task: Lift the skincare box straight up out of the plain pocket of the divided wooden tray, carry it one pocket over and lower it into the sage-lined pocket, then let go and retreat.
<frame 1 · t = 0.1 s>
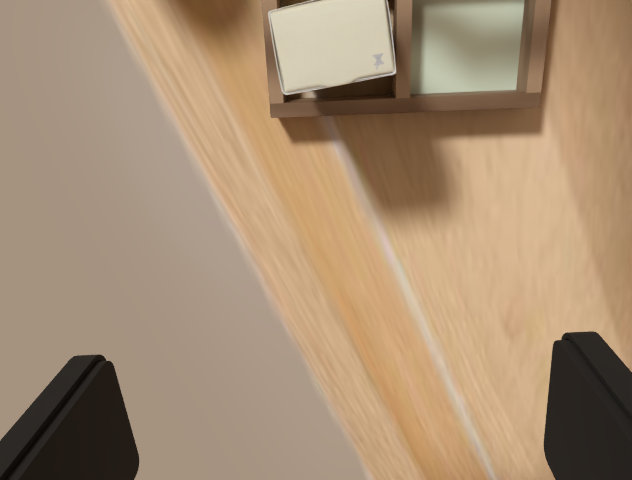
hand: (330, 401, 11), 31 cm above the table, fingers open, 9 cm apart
divided wooden tray: (400, 37, 37), on the table
skincare box: (338, 40, 37), resting in divided wooden tray
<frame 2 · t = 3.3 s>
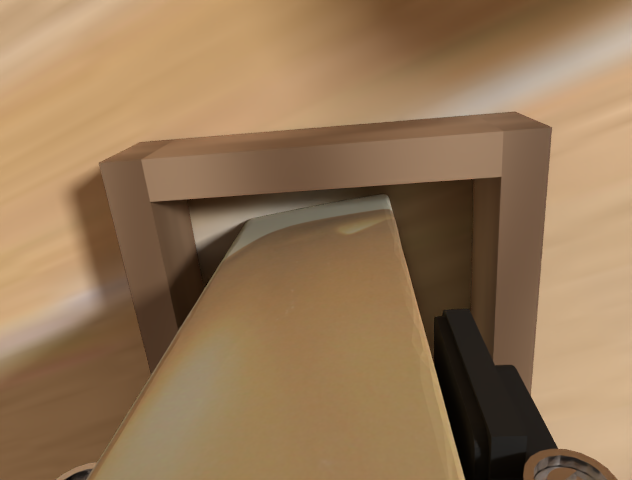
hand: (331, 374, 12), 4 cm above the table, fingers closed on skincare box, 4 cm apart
divided wooden tray: (345, 414, 17), on the table
skincare box: (335, 291, 15), resting in divided wooden tray, touching gripper
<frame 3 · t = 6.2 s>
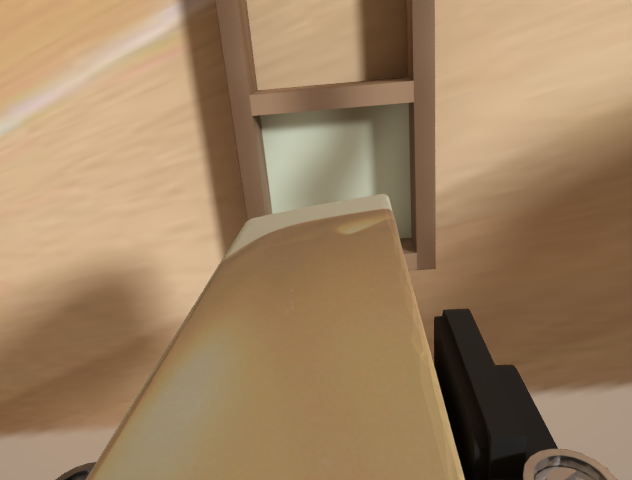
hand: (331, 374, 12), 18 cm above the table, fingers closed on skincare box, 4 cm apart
divided wooden tray: (332, 93, 27), on the table
skincare box: (335, 291, 15), point 14 cm above the table, touching gripper
when the fingers open (5 cm above the table, at t = 9.2 s): skincare box drops 1 cm, resting on divided wooden tray.
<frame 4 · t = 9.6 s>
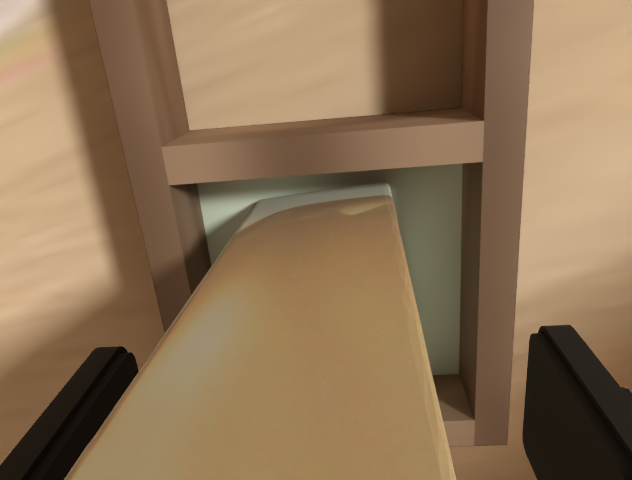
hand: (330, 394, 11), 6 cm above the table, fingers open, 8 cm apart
divided wooden tray: (324, 136, 15), on the table
skincare box: (335, 272, 17), resting on divided wooden tray
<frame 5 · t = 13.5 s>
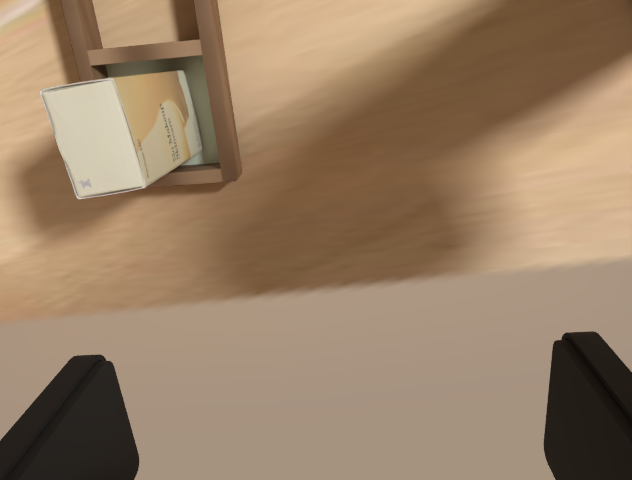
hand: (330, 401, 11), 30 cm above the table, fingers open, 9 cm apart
divided wooden tray: (156, 51, 37), on the table
skincare box: (168, 113, 39), resting on divided wooden tray
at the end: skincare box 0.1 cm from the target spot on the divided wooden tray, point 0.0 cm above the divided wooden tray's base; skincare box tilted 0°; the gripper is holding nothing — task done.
